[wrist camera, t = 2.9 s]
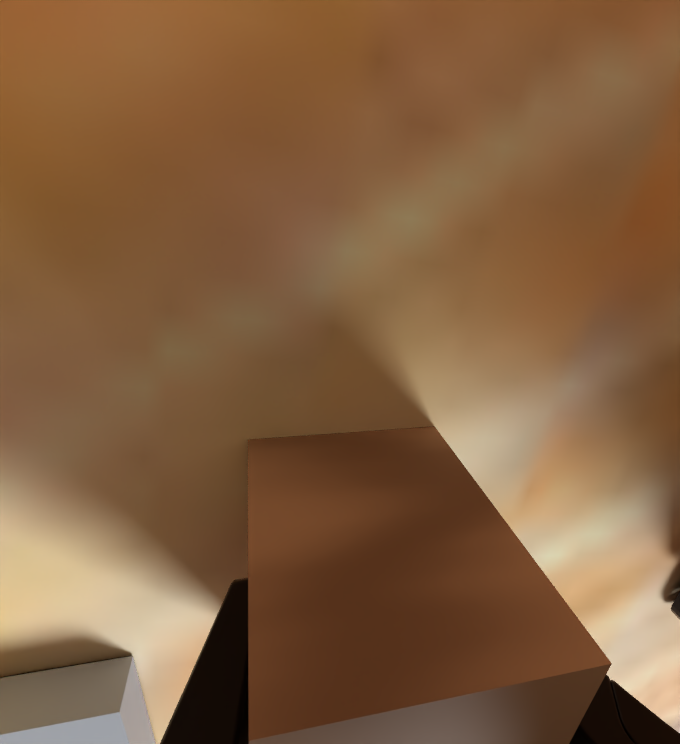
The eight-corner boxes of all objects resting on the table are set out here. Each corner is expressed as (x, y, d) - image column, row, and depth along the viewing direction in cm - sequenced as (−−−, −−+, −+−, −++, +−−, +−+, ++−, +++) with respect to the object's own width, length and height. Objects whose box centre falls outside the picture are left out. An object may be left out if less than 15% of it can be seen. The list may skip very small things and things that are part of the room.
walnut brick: (433, 425, 9) (611, 663, 5) (402, 608, 12) (499, 875, 7) (248, 438, 8) (247, 740, 4) (257, 632, 11) (265, 948, 6)
